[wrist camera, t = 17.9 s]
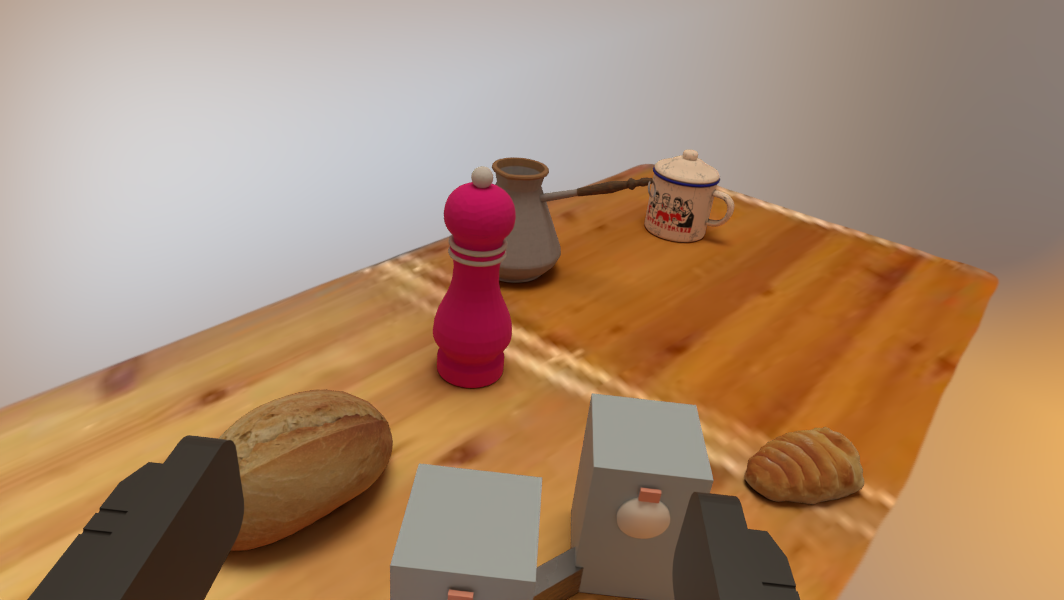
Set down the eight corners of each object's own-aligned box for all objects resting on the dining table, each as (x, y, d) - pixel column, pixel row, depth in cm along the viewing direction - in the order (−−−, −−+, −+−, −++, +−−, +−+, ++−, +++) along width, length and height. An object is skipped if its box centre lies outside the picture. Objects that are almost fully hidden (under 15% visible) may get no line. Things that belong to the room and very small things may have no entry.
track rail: (469, 658, 42) (471, 633, 40) (455, 637, 43) (457, 612, 41) (628, 562, 49) (634, 538, 48) (612, 546, 50) (617, 522, 49)
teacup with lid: (631, 230, 99) (646, 150, 93) (657, 212, 106) (673, 136, 100) (712, 257, 94) (733, 174, 88) (734, 236, 101) (755, 157, 95)
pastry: (777, 524, 54) (791, 488, 52) (722, 466, 59) (733, 430, 57) (865, 495, 57) (881, 460, 55) (807, 442, 63) (819, 408, 61)
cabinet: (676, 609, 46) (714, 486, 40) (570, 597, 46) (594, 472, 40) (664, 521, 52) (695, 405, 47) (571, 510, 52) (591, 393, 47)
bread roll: (427, 483, 54) (429, 400, 50) (241, 602, 43) (226, 510, 39) (351, 421, 59) (348, 341, 55) (170, 514, 49) (150, 425, 45)
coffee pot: (446, 273, 83) (451, 150, 75) (490, 239, 92) (498, 126, 84) (618, 326, 76) (643, 196, 69) (647, 283, 85) (671, 165, 78)
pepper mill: (440, 396, 63) (449, 184, 53) (424, 351, 68) (429, 152, 59) (517, 387, 65) (539, 182, 55) (496, 344, 71) (512, 151, 61)
